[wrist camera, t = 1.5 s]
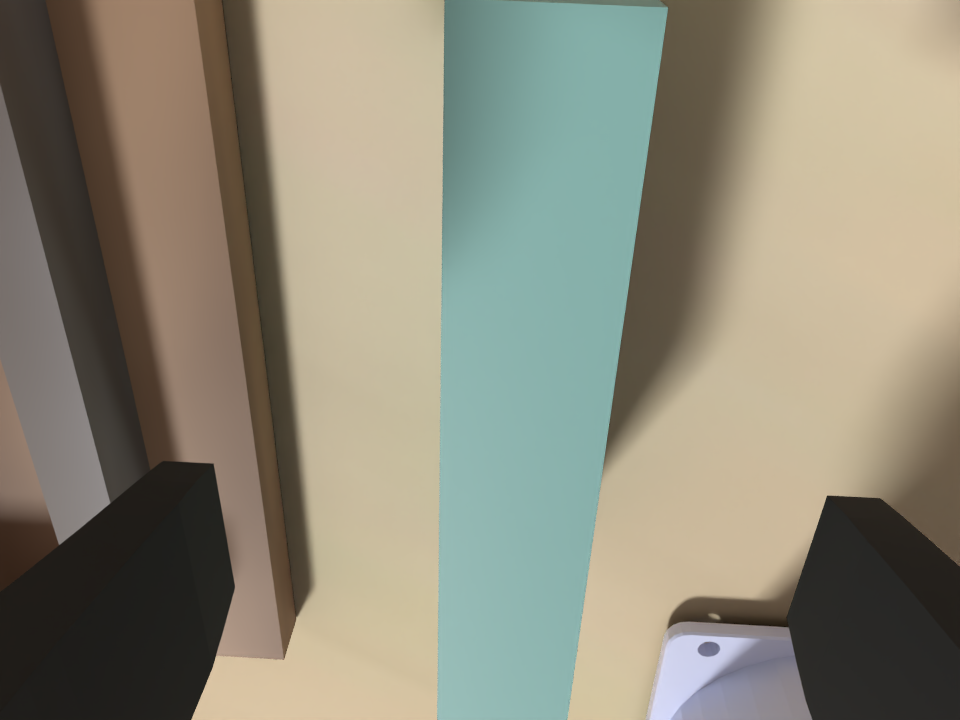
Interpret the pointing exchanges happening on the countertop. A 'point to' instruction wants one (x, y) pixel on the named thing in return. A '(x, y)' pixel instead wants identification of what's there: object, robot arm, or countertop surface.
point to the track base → (131, 288)
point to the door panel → (532, 328)
